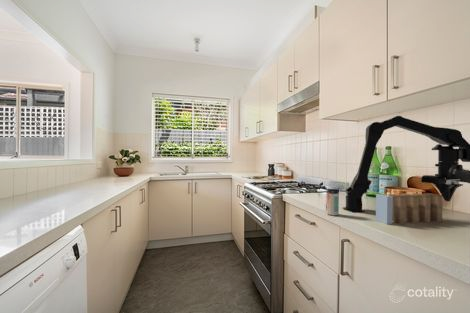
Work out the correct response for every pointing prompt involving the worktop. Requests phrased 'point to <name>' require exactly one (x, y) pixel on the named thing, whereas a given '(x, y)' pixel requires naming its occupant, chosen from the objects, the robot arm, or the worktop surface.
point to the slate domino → (384, 208)
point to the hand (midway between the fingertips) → (447, 201)
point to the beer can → (332, 200)
